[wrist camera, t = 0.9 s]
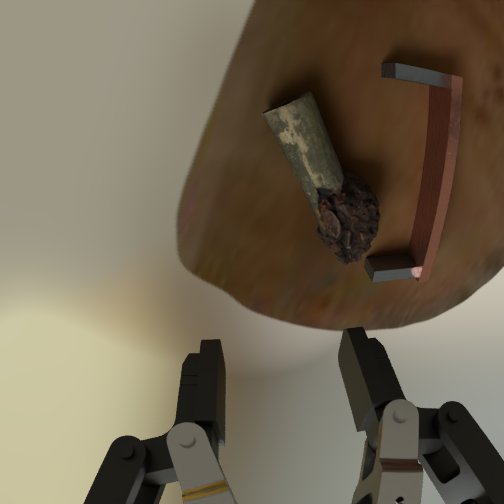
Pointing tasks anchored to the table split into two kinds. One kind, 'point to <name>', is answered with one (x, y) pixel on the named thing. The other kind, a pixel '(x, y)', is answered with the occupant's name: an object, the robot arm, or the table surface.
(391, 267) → the brown pull handle
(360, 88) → the table surface
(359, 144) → the table surface
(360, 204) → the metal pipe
